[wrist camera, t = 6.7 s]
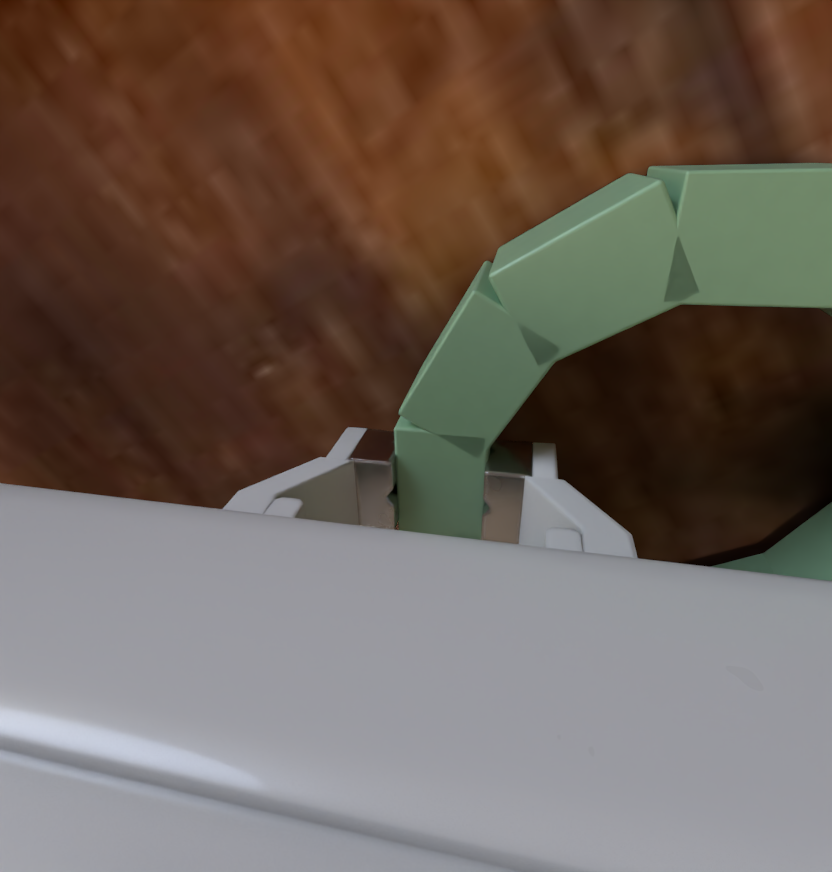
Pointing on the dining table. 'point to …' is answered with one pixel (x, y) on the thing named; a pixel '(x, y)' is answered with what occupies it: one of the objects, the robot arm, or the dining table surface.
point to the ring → (611, 318)
